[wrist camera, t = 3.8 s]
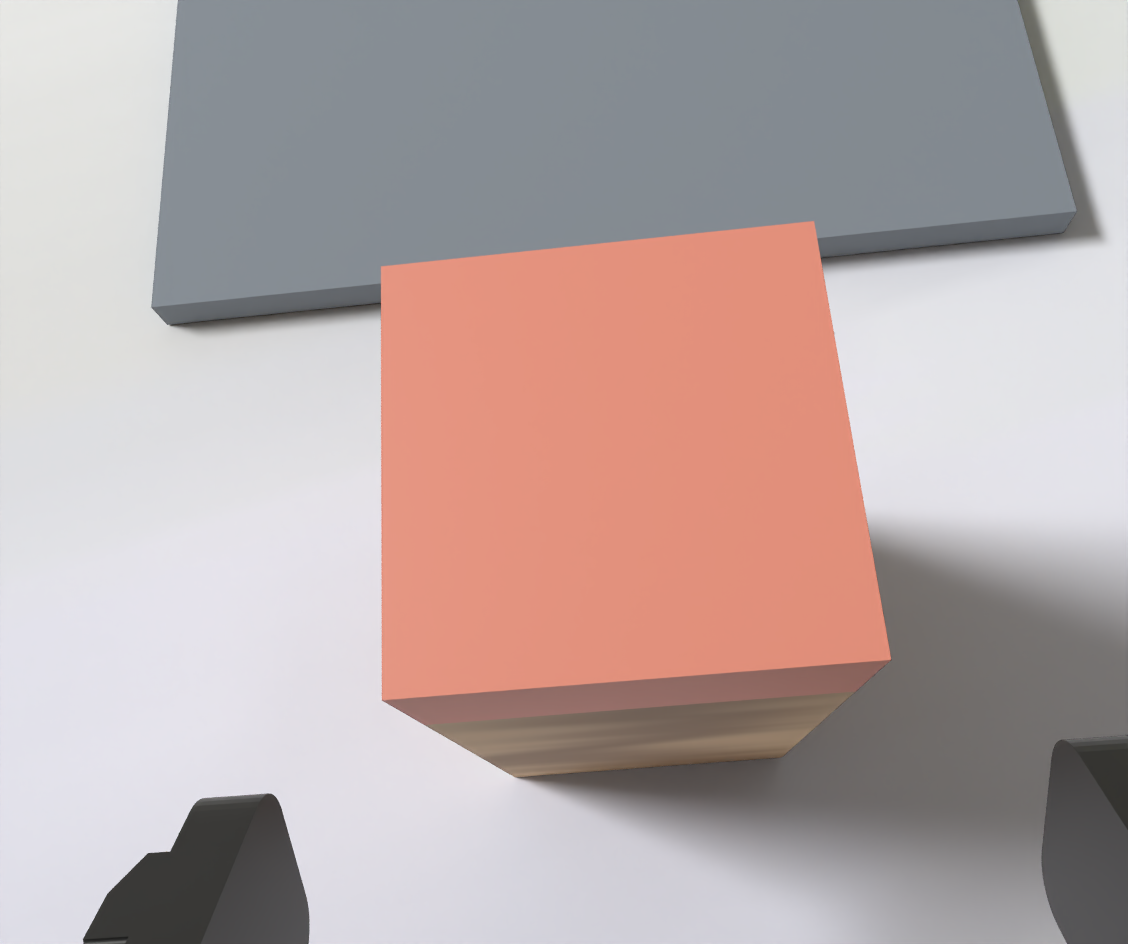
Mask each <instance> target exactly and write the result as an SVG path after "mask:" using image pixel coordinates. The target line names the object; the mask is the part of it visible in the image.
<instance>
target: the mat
mask: <svg viewBox="0 0 1128 944" xmlns="http://www.w3.org/2000/svg"><path fill="white" fill-rule="evenodd" d="M1076 212H1077V210H1076V206H1075V202H1074V199H1073V195H1072V192H1071V188H1070V185H1069V181H1068V178H1067V174H1066V171H1065V167H1064V163H1063V160H1062V156H1061V153H1060V149H1059V146H1058V142H1057V139H1056V135H1055V132H1054V128H1053V124H1052V121H1051V117H1050V114H1049V110H1048V107H1047V103H1046V100H1045V96H1044V93H1043V89H1042V85H1041V82H1040V78H1039V75H1038V71H1037V68H1036V64H1035V61H1034V57H1033V54H1032V50H1031V46H1030V43H1029V39H1028V36H1027V32H1026V29H1025V25H1024V22H1023V18H1022V15H1021V11H1020V7H1019V4H1018V0H178V5H177V17H176V29H175V40H174V52H173V63H172V75H171V86H170V98H169V109H168V121H167V133H166V144H165V156H164V167H163V179H162V190H161V202H160V213H159V225H158V237H157V248H156V260H155V271H154V283H153V294H152V306H151V307H152V309H153V310H154V311H155V312H156V313H157V314H158V315H159V316H160V317H161V318H162V319H163V320H164V322H165V323H166V324H167V325H169V324H179V323H188V322H198V321H208V320H218V319H227V318H237V317H247V316H257V315H266V314H276V313H286V312H296V311H305V310H315V309H325V308H335V307H344V306H354V305H364V304H374V303H381V266H390V265H399V264H409V263H418V262H428V261H438V260H447V259H457V258H466V257H476V256H485V255H495V254H504V253H514V252H523V251H533V250H542V249H552V248H561V247H571V246H581V245H590V244H600V243H609V242H619V241H628V240H638V239H647V238H657V237H666V236H676V235H685V234H695V233H704V232H714V231H724V230H733V229H743V228H752V227H762V226H771V225H781V224H790V223H800V222H809V221H814V223H815V229H816V235H817V240H818V246H819V252H820V258H822V257H831V256H841V255H851V254H861V253H870V252H880V251H890V250H899V249H909V248H919V247H929V246H938V245H948V244H958V243H968V242H977V241H987V240H997V239H1007V238H1016V237H1026V236H1036V235H1046V234H1055V233H1063V232H1064V231H1065V229H1066V228H1067V226H1068V225H1069V223H1070V221H1071V220H1072V218H1073V217H1074V215H1075V214H1076Z"/></svg>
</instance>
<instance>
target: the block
mask: <svg viewBox="0 0 1128 944" xmlns="http://www.w3.org/2000/svg"><path fill="white" fill-rule="evenodd" d="M381 504H382V701H384V702H386V703H388V704H389V705H391V706H393V707H394V708H396V709H398V710H400V711H401V712H403V713H405V714H407V715H408V716H410V717H412V718H413V719H415V720H417V721H419V722H420V723H422V724H424V725H426V726H427V727H429V728H431V729H432V730H434V731H436V732H438V733H439V734H441V735H443V736H445V737H446V738H448V739H450V740H451V741H453V742H455V743H457V744H458V745H460V746H462V747H464V748H465V749H467V750H469V751H470V752H472V753H474V754H476V755H477V756H479V757H481V758H483V759H484V760H486V761H488V762H490V763H491V764H493V765H495V766H496V767H498V768H500V769H502V770H503V771H505V772H507V773H509V774H510V775H512V776H514V777H526V776H539V775H553V774H566V773H579V772H593V771H606V770H620V769H633V768H647V767H660V766H674V765H687V764H701V763H714V762H728V761H741V760H754V759H768V758H781V757H783V756H784V755H785V754H786V753H787V752H788V751H790V750H791V749H792V748H793V747H794V746H795V745H796V744H797V743H799V742H800V741H801V740H802V739H803V738H804V737H805V736H806V735H808V734H809V733H810V732H811V731H812V730H813V729H814V728H815V727H816V726H818V725H819V724H820V723H821V722H822V721H823V720H824V719H825V718H827V717H828V716H829V715H830V714H831V713H832V712H833V711H834V710H836V709H837V708H838V707H839V706H840V705H841V704H842V703H843V702H845V701H846V700H847V699H848V698H849V697H850V696H851V695H852V694H854V693H855V692H856V691H857V690H858V689H859V688H860V687H861V686H863V685H864V684H865V683H866V682H867V681H868V680H869V679H870V678H871V677H873V676H874V675H875V674H876V673H877V672H878V671H879V670H880V669H882V668H883V667H884V666H885V665H886V664H887V663H888V662H889V661H891V655H890V650H889V644H888V638H887V632H886V627H885V621H884V615H883V610H882V604H881V598H880V593H879V587H878V581H877V576H876V570H875V564H874V559H873V553H872V547H871V542H870V536H869V530H868V525H867V519H866V513H865V507H864V502H863V496H862V490H861V485H860V479H859V473H858V468H857V462H856V456H855V451H854V445H853V439H852V434H851V428H850V422H849V417H848V411H847V405H846V400H845V394H844V388H843V382H842V377H841V371H840V365H839V360H838V354H837V348H836V343H835V337H834V331H833V326H832V320H831V314H830V309H829V303H828V297H827V292H826V286H825V280H824V275H823V269H822V263H821V258H820V252H819V246H818V240H817V235H816V229H815V223H814V221H809V222H800V223H790V224H781V225H771V226H762V227H752V228H743V229H733V230H724V231H714V232H704V233H695V234H685V235H676V236H666V237H657V238H647V239H638V240H628V241H619V242H609V243H600V244H590V245H581V246H571V247H561V248H552V249H542V250H533V251H523V252H514V253H504V254H495V255H485V256H476V257H466V258H457V259H447V260H438V261H428V262H418V263H409V264H399V265H390V266H381Z"/></svg>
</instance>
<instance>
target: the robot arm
mask: <svg viewBox="0 0 1128 944" xmlns="http://www.w3.org/2000/svg"><path fill="white" fill-rule="evenodd" d="M1042 872H1043V879H1044V885H1045V890H1046V894H1047V898H1048V901H1049V904H1050V907H1051V910H1052V913H1053V916H1054V918H1055V920H1056V922H1057V925H1058V927H1059V929H1060V930H1061V932H1062V934H1063V936H1064V938H1065V940H1066V942H1067V944H1128V735H1125V736H1111V737H1097V738H1083V739H1069V740H1060V741H1058V742H1057V743H1056V745H1055V747H1054V750H1053V753H1052V759H1051V769H1050V778H1049V788H1048V798H1047V807H1046V817H1045V826H1044V836H1043V846H1042ZM83 942H84V943H83V944H308V943H309V909H308V902H307V898H306V894H305V890H304V887H303V883H302V880H301V876H300V873H299V869H298V866H297V862H296V858H295V855H294V851H293V848H292V844H291V841H290V837H289V834H288V830H287V827H286V823H285V820H284V816H283V813H282V809H281V806H280V804H279V802H278V800H277V798H276V797H275V796H274V795H272V794H256V795H242V796H228V797H214V798H203V799H200V800H199V801H197V802H196V803H195V805H194V806H193V807H192V809H191V811H190V813H189V815H188V817H187V819H186V821H185V823H184V825H183V827H182V829H181V831H180V833H179V835H178V837H177V839H176V841H175V843H174V845H173V847H172V849H171V851H170V852H159V853H148V854H147V855H146V856H145V857H144V858H143V859H142V860H141V861H140V862H139V863H138V864H137V865H136V866H135V867H134V868H133V869H132V870H131V871H130V872H129V873H128V874H127V875H126V876H125V877H124V878H123V879H122V880H121V881H120V882H119V883H118V884H117V885H116V886H115V887H114V888H113V889H112V890H111V891H110V892H109V893H108V894H107V896H106V898H105V899H104V901H103V903H102V905H101V907H100V909H99V911H98V912H97V914H96V916H95V918H94V920H93V922H92V924H91V925H90V927H89V929H88V931H87V933H86V935H85V937H84V938H83Z"/></svg>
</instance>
